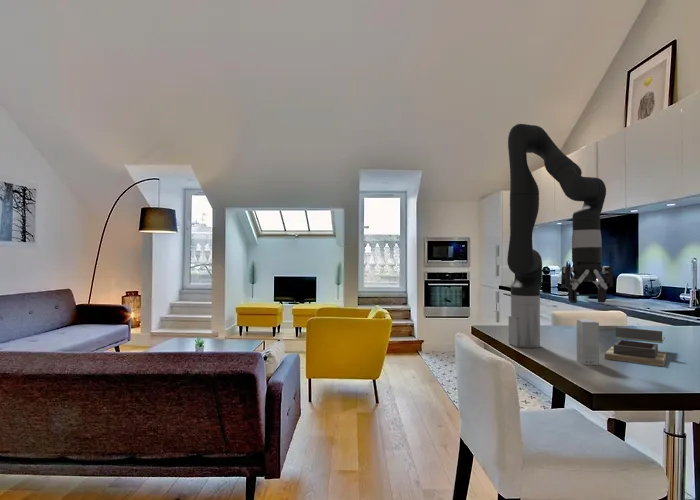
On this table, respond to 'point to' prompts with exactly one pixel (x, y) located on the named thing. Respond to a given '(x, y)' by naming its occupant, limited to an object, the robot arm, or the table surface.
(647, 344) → the socket board
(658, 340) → the cover
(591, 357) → the skincare box
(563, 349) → the table surface
